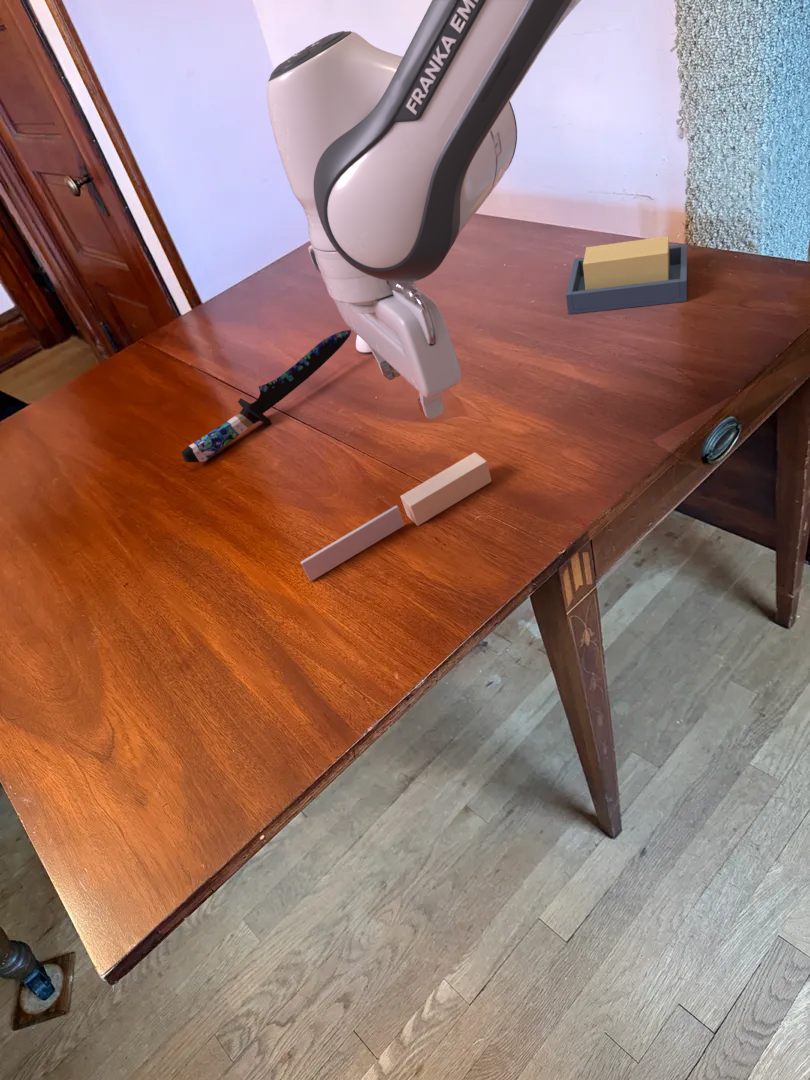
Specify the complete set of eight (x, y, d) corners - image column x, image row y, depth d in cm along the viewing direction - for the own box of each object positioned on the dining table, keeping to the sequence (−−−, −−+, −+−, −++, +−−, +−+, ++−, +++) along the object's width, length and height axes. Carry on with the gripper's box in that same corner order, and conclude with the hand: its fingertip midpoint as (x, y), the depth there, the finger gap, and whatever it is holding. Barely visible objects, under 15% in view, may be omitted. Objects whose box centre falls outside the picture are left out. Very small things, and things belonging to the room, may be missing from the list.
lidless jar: (365, 358, 111) (394, 343, 112) (359, 341, 109) (388, 326, 110) (352, 347, 115) (380, 333, 116) (346, 330, 113) (374, 316, 114)
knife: (199, 478, 102) (181, 455, 99) (190, 470, 104) (173, 446, 101) (367, 351, 109) (356, 325, 106) (356, 345, 111) (344, 320, 108)
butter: (669, 263, 104) (668, 235, 101) (668, 280, 101) (667, 252, 98) (588, 273, 108) (586, 247, 105) (585, 290, 105) (582, 263, 102)
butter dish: (687, 263, 106) (687, 243, 104) (686, 301, 99) (686, 280, 97) (576, 277, 112) (574, 258, 110) (568, 314, 105) (565, 294, 103)
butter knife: (480, 472, 85) (474, 451, 83) (491, 481, 84) (486, 460, 82) (306, 575, 81) (296, 556, 79) (315, 588, 79) (305, 569, 77)
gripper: (459, 279, 57) (492, 424, 66) (360, 218, 72) (398, 344, 81) (386, 313, 56) (430, 456, 65) (301, 245, 71) (347, 369, 80)
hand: (412, 393), depth 73 cm, fingers open, 8 cm apart
